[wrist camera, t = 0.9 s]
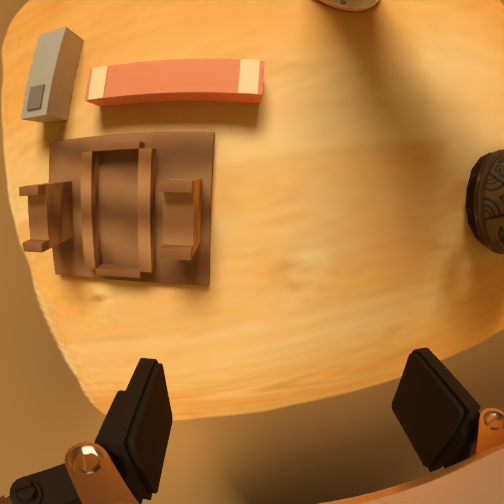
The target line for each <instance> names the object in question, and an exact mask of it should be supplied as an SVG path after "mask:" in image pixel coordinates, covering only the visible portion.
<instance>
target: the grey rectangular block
mask: <svg viewBox="0 0 504 504" xmlns="http://www.w3.org/2000/svg"><path fill="white" fill-rule="evenodd" d="M83 41H84V40H83V39H81V38H80V37H79V36H77V35H76V34H75V33H73V32H72V31H71V30H69V29H68V28H67V27H64V28H61V29H57V30H54V31H50V32H47V33H44V34H41V35H40V36H39V39H38V43H37V46H36V50H35V53H34V57H33V61H32V65H31V69H30V73H29V77H28V82H27V87H26V92H25V97H24V103H23V109H22V116H21V119H24V120H30V121H36V122H42V123H46V122H53V121H61V120H68V116H69V109H70V102H71V96H72V91H73V85H74V80H75V75H76V70H77V66H78V61H79V57H80V53H81V49H82V45H83Z"/></svg>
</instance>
